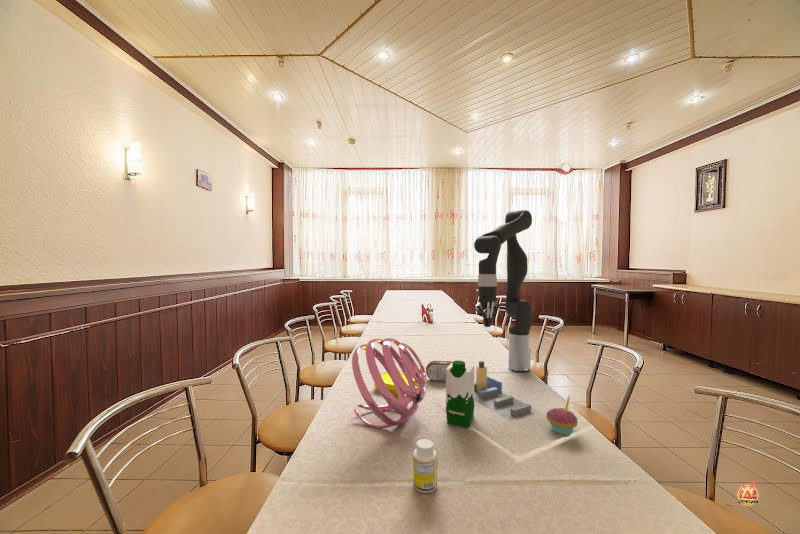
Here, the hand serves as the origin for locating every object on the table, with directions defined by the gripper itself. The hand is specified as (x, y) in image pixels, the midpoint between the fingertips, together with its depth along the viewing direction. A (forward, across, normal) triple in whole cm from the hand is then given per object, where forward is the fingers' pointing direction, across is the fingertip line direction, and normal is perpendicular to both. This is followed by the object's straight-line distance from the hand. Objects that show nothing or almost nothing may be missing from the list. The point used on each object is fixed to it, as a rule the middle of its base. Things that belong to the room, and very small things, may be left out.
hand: (487, 326), depth 136 cm
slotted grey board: (+25, +8, +13) cm, 29 cm away
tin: (+25, +12, -14) cm, 31 cm away
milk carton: (+25, +28, +17) cm, 41 cm away
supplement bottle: (+25, +55, +37) cm, 71 cm away
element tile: (+26, +33, -18) cm, 45 cm away
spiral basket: (+25, +48, +5) cm, 54 cm away
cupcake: (+25, +6, +38) cm, 46 cm away
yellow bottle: (+24, +8, +5) cm, 26 cm away
